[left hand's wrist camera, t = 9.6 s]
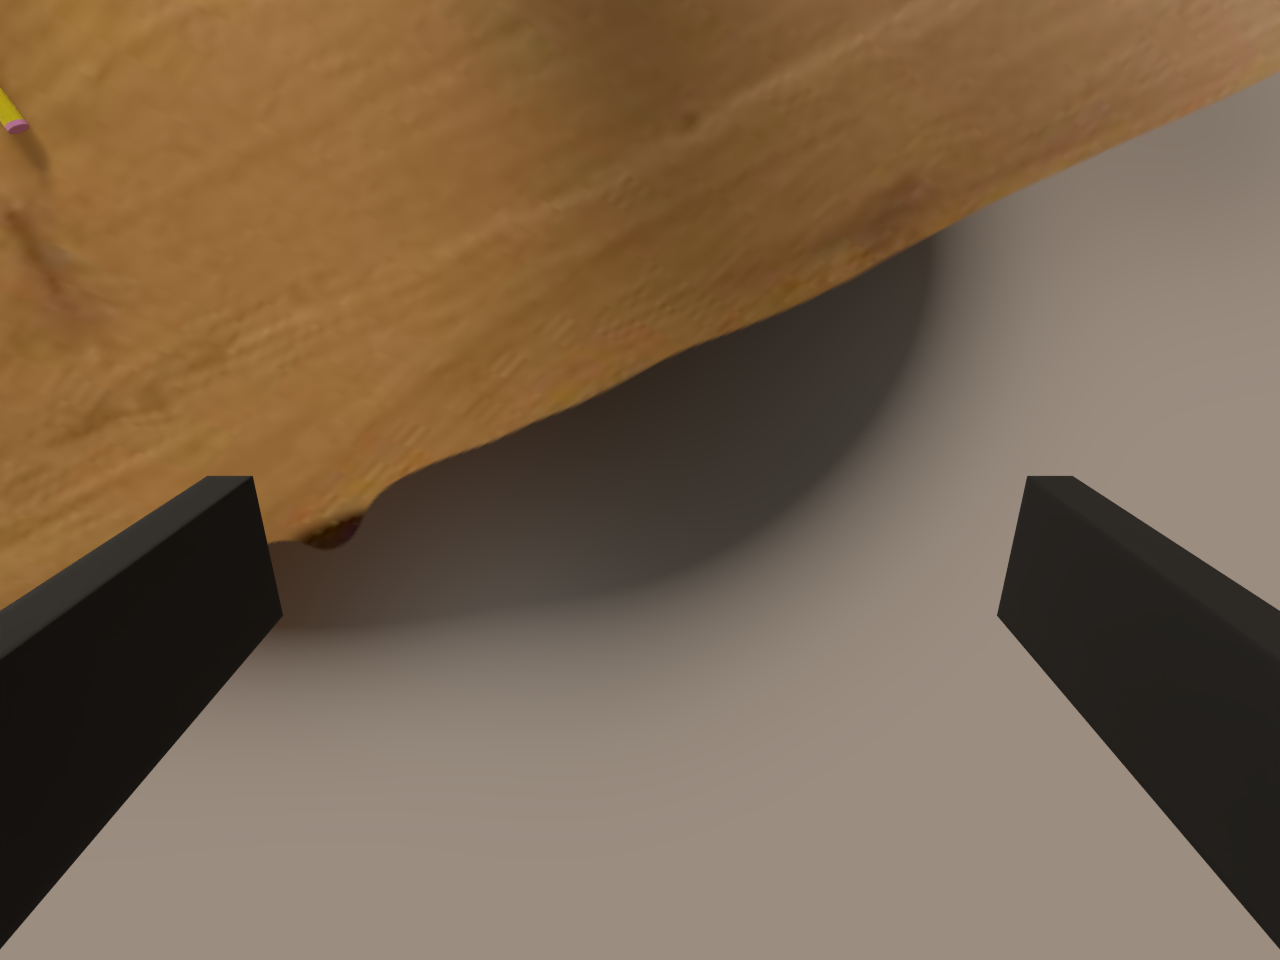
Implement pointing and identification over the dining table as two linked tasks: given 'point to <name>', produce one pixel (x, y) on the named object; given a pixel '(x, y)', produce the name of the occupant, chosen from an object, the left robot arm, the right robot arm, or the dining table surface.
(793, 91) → the dining table surface
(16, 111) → the pencil
